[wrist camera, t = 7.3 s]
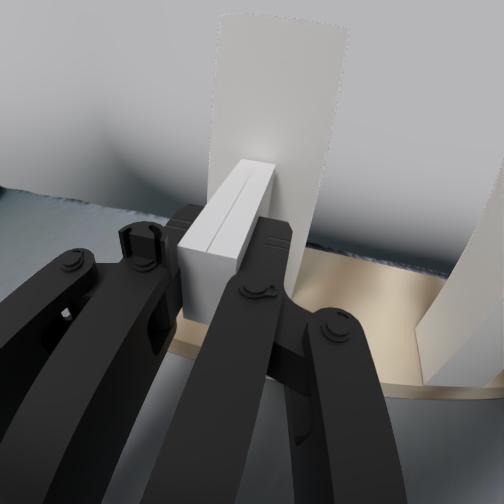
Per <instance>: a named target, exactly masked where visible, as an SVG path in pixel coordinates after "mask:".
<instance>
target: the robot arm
mask: <svg viewBox="0 0 504 504" xmlns="http://www.w3.org/2000/svg"><path fill="white" fill-rule="evenodd" d="M275 167H276V165H275V164H270V163H264V162H258V161H253V160H247V159H241V160H240V162H239V163H238V164H237V165H236V167H235V168H234V169H233V170H232V172H231V173H230V174H229V176H228V177H227V178H226V180H225V181H224V182H223V183H222V185H221V186H220V187H219V189H218V190H217V191H216V193H215V194H214V195H213V197H212V198H211V199H210V201H209V202H208V203H207V205H206V206H205V207H204V206H198V205H192V204H189V205H187V206H185V207H183V208H181V209H179V210H178V211H177V212H176V213H175V214H174V215H173V217H172V218H171V219H170V220H169V221H168V223H167V224H166V226H164V227H163V226H162V225H160V224H157V223H155V222H147V221H142V222H135V223H132V224H129V225H127V226H125V227H123V228H122V229H120V230H119V231H118V233H119V238H120V243H121V249H122V254H123V258H122V260H121V261H120V262H119V263H96V262H95V258H94V254H93V253H92V252H91V251H90V250H87V249H84V248H75V249H72V250H68V251H66V252H64V253H62V254H61V255H59V256H58V257H57V258H55V259H54V260H53V261H51V262H50V263H49V264H47V265H46V266H45V267H43V268H42V269H41V270H39V271H38V272H37V273H36V274H34V275H33V276H32V277H31V278H29V279H28V280H27V281H26V282H24V283H23V284H22V285H21V286H19V287H18V288H17V289H16V290H15V291H13V292H12V293H11V294H10V295H9V296H8V297H6V298H5V299H4V300H3V301H2V302H1V303H0V504H101V502H102V500H103V497H104V494H105V492H106V489H107V487H108V485H109V482H110V480H111V477H112V475H113V472H114V470H115V467H116V465H117V463H118V460H119V458H120V455H121V453H122V451H123V448H124V446H125V444H126V441H127V439H128V437H129V434H130V432H131V430H132V427H133V425H134V423H135V421H136V418H137V416H138V414H139V411H140V409H141V407H142V405H143V403H144V400H145V398H146V396H147V394H148V391H149V389H150V387H151V385H152V383H153V380H154V378H155V376H156V374H157V372H158V370H159V367H160V365H161V363H162V361H163V359H164V357H165V355H166V352H167V350H168V348H169V346H170V344H171V342H172V340H173V338H174V336H175V333H176V330H177V320H176V318H177V316H178V314H179V312H180V310H181V308H182V312H183V318H184V319H188V320H191V321H195V322H199V323H202V324H206V325H210V326H209V328H208V331H207V333H206V336H205V338H204V341H203V343H202V346H201V348H200V351H199V353H198V356H197V358H196V361H195V363H194V366H193V368H192V371H191V373H190V376H189V378H188V381H187V383H186V386H185V388H184V391H183V393H182V396H181V398H180V401H179V403H178V406H177V408H176V411H175V414H174V416H173V419H172V421H171V424H170V426H169V429H168V431H167V434H166V437H165V439H164V442H163V444H162V447H161V449H160V452H159V455H158V457H157V460H156V462H155V465H154V468H153V470H152V473H151V475H150V478H149V481H148V483H147V486H146V489H145V491H144V494H143V497H142V499H141V502H140V504H234V502H235V498H236V494H237V491H238V487H239V483H240V480H241V476H242V472H243V468H244V465H245V461H246V457H247V453H248V449H249V445H250V441H251V437H252V433H253V429H254V425H255V421H256V416H257V412H258V408H259V404H260V399H261V395H262V391H263V386H264V382H265V377H266V375H267V376H269V377H271V378H273V379H274V380H276V381H278V382H280V383H282V384H284V390H285V400H286V410H287V420H288V431H289V442H290V453H291V464H292V476H293V488H294V501H295V504H407V498H406V492H405V487H404V481H403V476H402V471H401V466H400V461H399V456H398V452H397V447H396V443H395V438H394V434H393V430H392V426H391V422H390V418H389V414H388V410H387V406H386V403H385V399H384V395H383V392H382V388H381V385H380V381H379V378H378V374H377V371H376V367H375V364H374V361H373V358H372V354H371V351H370V348H369V345H368V342H367V339H366V336H365V333H364V330H363V327H362V326H361V324H360V322H359V320H358V319H357V318H355V317H354V316H353V315H352V314H351V313H349V312H347V311H345V310H343V309H340V308H334V307H327V308H321V309H319V310H317V311H315V312H314V313H312V312H310V311H308V310H306V309H304V308H302V307H300V306H299V305H297V304H296V303H294V302H293V301H292V300H291V299H290V298H289V296H288V295H287V293H286V291H285V288H284V278H285V273H286V268H287V262H288V256H289V250H290V245H291V239H292V234H293V231H292V229H291V227H290V225H289V223H288V222H286V221H281V220H276V219H271V218H268V213H269V206H270V200H271V193H272V187H273V180H274V174H275ZM66 308H68V310H69V312H70V314H71V315H69V316H68V317H63V316H62V314H61V312H62V311H63V310H64V309H66Z"/></svg>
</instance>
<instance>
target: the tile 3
mask: <svg viewBox="0 0 504 504" xmlns="http://www.w3.org/2000/svg"><path fill="white" fill-rule="evenodd" d="M349 32H350V29H349V28H345V27H340V26H336V25H331V24H326V23H321V22H315V21H309V20H303V19H296V18H288V17H279V16H268V15H255V14H221V17H220V26H219V35H218V44H217V55H216V66H215V76H214V89H213V101H212V115H211V131H210V149H209V170H208V195H207V203H208V202H209V201H210V199H211V198H212V197H213V195H214V194H215V193H216V191H217V190H218V189H219V187H220V186H221V185H222V183H223V182H224V181H225V180H226V178H227V177H228V176H229V174H230V173H231V172H232V170H233V169H234V168H235V167H236V165H237V164H238V163H239V162H240V160H241V159H247V160H253V161H258V162H264V163H270V164H275V165H276V167H275V174H274V180H273V187H272V193H271V200H270V206H269V213H268V218H271V219H276V220H281V221H286V222H288V223H289V225H290V227H291V229H292V231H293V234H292V239H291V245H290V250H289V256H288V262H287V268H286V273H285V278H284V288H285V291H286V293H287V295H288V296H289V298H290V299H291V296H292V293H293V289H294V285H295V282H296V278H297V275H298V271H299V267H300V264H301V260H302V256H303V252H304V249H305V245H306V241H307V237H308V233H309V229H310V225H311V221H312V217H313V213H314V209H315V205H316V201H317V196H318V192H319V188H320V184H321V179H322V175H323V171H324V166H325V161H326V157H327V152H328V147H329V143H330V138H331V133H332V128H333V123H334V118H335V113H336V108H337V103H338V98H339V92H340V86H341V81H342V75H343V70H344V63H345V57H346V51H347V45H348V38H349Z"/></svg>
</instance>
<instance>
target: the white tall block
mask: <svg viewBox="0 0 504 504" xmlns="http://www.w3.org/2000/svg"><path fill="white" fill-rule="evenodd" d="M415 333H416V338H417V344H418V350H419V356H420V362H421V369H422V377H423V385H428V386H450V387H484V386H486V385H487V384H488V383H489V382H490V381H491V380H492V379H493V378H494V377H496V376H497V375H498V374H499V373H500V372H501V371H502V370H503V369H504V159H503V162H502V165H501V168H500V171H499V174H498V176H497V179H496V182H495V184H494V187H493V190H492V192H491V194H490V197H489V199H488V202H487V204H486V206H485V208H484V211H483V213H482V215H481V217H480V220H479V222H478V224H477V226H476V228H475V230H474V232H473V234H472V236H471V238H470V240H469V242H468V244H467V246H466V248H465V250H464V252H463V253H462V255H461V257H460V259H459V261H458V262H457V264H456V266H455V268H454V269H453V271H452V273H451V275H450V276H449V278H448V280H447V281H446V283H445V285H444V286H443V288H442V289H441V291H440V293H439V294H438V296H437V297H436V299H435V300H434V302H433V303H432V305H431V306H430V308H429V309H428V311H427V312H426V314H425V315H424V317H423V318H422V320H421V321H420V322H419V324H418V325H417V327H416V328H415Z"/></svg>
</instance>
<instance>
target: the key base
mask: <svg viewBox="0 0 504 504" xmlns="http://www.w3.org/2000/svg"><path fill="white" fill-rule="evenodd" d="M446 281H447V280H444V279H440V278H436V277H432V276H428V275H424V274H420V273H415V272H411V271H407V270H403V269H399V268H394V267H390V266H386V265H382V264H377V263H373V262H369V261H364V260H360V259H356V258H351V257H347V256H342V255H338V254H334V253H329V252H325V251H320V250H316V249H311V248H307V247H305V249H304V252H303V256H302V260H301V264H300V267H299V271H298V275H297V278H296V282H295V285H294V289H293V293H292V296H291V300H292V301H293V302H294V303H296V304H297V305H299V306H300V307H302V308H304V309H306V310H308V311H310V312H312V313H314V312H315V311H317V310H319V309H321V308H327V307H334V308H340V309H343V310H345V311H347V312H349V313H351V314H352V315H353V316H354V317H355V318H357V319H358V320H359V322H360V324H361V326H362V327H363V330H364V333H365V336H366V339H367V342H368V345H369V348H370V351H371V354H372V358H373V361H374V364H375V367H376V371H377V374H378V378H379V381H380V385H381V388H382V392H383V395H384V397H394V398H409V399H433V400H469V399H492V398H504V369H503V370H502V371H501V372H500V373H499V374H498V375H497V376H496V377H494V378H493V379H492V380H491V381H490V382H489V383H488V384H487V385H486V386H484V387H450V386H428V385H423V377H422V369H421V362H420V356H419V350H418V344H417V338H416V333H415V328H416V327H417V325H418V324H419V322H420V321H421V320H422V318H423V317H424V315H425V314H426V312H427V311H428V309H429V308H430V306H431V305H432V303H433V302H434V300H435V299H436V297H437V296H438V294H439V293H440V291H441V289H442V288H443V286H444V285H445V283H446ZM176 320H177V330H176V333H175V336H174V338H173V340H172V342H171V344H170V346H169V348H168V350H167V351H168V352H171V353H174V354H177V355H181V356H184V357H187V358H190V359H194V360H196V358H197V356H198V353H199V351H200V348H201V346H202V343H203V341H204V338H205V336H206V333H207V331H208V328H209V326H210V325H206V324H202V323H199V322H195V321H191V320H188V319H184V318H183V312H182V308H181V310H180V312H179V314H178V316H177V318H176ZM265 378H266V379H271V380H274V379H273V378H271V377H269V376H267V375H266V377H265Z"/></svg>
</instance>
